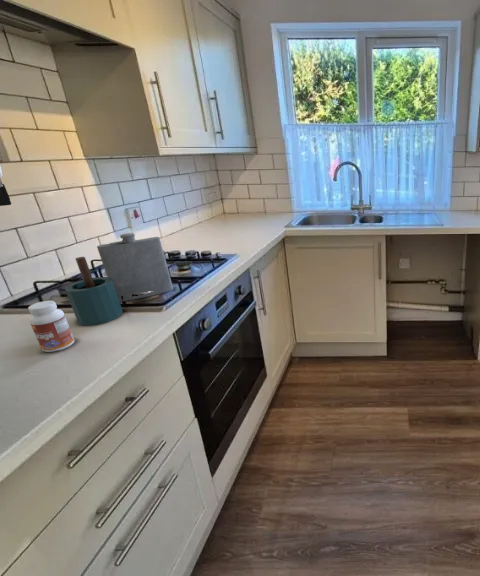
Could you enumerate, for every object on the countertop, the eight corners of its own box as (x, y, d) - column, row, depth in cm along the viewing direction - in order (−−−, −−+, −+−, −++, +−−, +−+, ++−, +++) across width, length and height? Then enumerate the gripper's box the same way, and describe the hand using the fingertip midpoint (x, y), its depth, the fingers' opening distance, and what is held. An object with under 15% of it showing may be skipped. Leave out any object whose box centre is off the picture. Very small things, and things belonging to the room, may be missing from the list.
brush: (91, 319, 98) (69, 261, 92) (88, 314, 101) (67, 258, 95) (112, 313, 101) (92, 257, 95) (109, 308, 104) (89, 253, 98)
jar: (81, 329, 95) (67, 294, 91) (75, 317, 102) (62, 284, 98) (126, 316, 102) (115, 283, 98) (118, 305, 108) (107, 274, 104)
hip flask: (172, 287, 121) (156, 228, 113) (174, 290, 118) (158, 230, 110) (115, 299, 113) (94, 237, 105) (115, 303, 109) (93, 239, 102)
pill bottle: (35, 352, 85) (15, 310, 80) (59, 339, 90) (41, 298, 86) (59, 353, 84) (40, 310, 80) (81, 339, 90) (65, 299, 86)
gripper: (-53, 126, 83) (-20, 201, 90) (-61, 123, 72) (-22, 209, 78) (-8, 126, 88) (21, 198, 95) (-8, 123, 77) (25, 205, 83)
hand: (2, 203), depth 87 cm, fingers open, 9 cm apart
